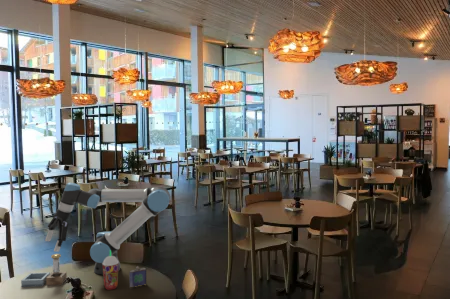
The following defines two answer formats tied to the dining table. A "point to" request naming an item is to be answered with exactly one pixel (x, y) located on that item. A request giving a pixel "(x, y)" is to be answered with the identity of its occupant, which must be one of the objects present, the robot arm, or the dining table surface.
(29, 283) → the tray
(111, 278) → the smoothie
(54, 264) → the pin
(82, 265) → the dining table surface
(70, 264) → the dining table surface
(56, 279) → the block
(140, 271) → the flask
